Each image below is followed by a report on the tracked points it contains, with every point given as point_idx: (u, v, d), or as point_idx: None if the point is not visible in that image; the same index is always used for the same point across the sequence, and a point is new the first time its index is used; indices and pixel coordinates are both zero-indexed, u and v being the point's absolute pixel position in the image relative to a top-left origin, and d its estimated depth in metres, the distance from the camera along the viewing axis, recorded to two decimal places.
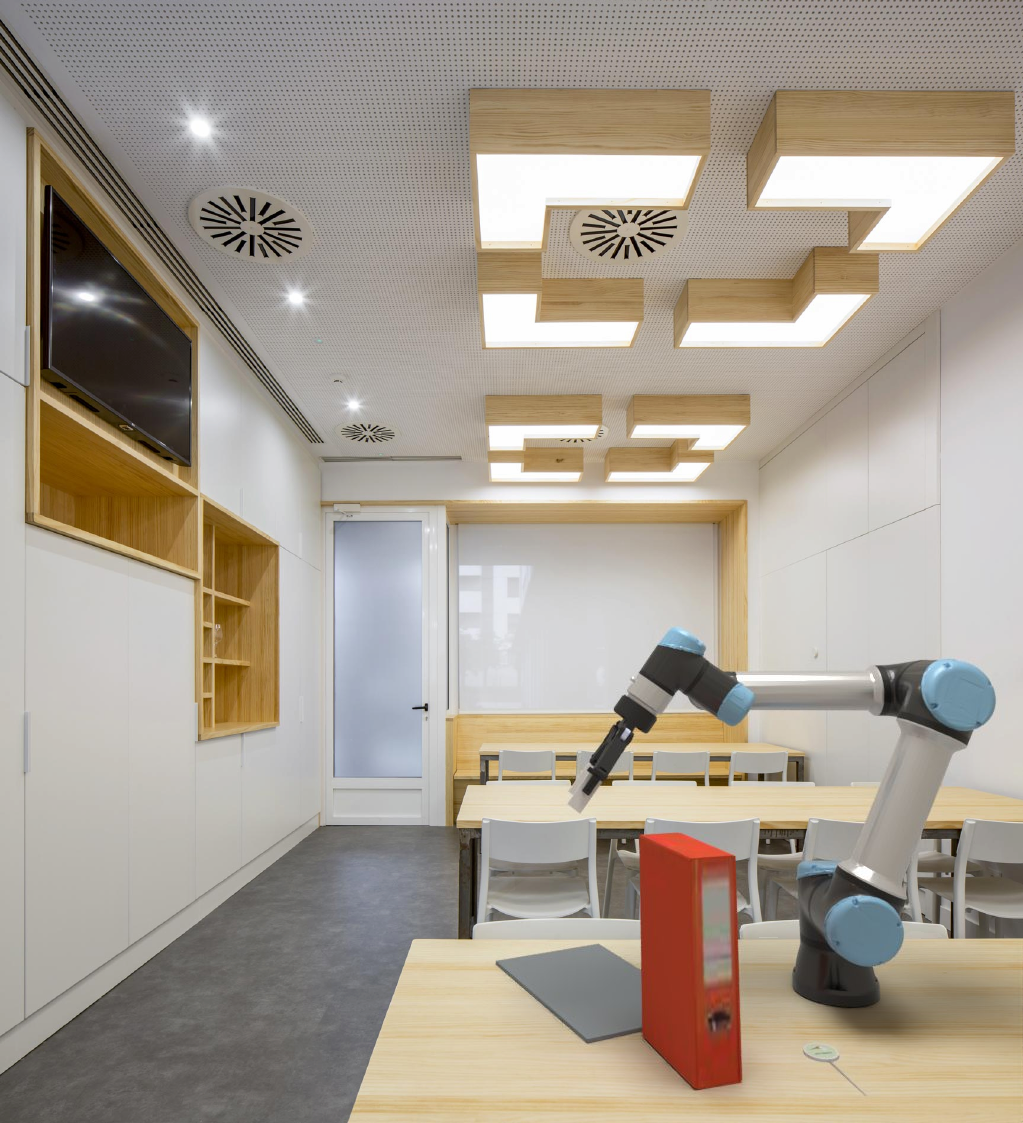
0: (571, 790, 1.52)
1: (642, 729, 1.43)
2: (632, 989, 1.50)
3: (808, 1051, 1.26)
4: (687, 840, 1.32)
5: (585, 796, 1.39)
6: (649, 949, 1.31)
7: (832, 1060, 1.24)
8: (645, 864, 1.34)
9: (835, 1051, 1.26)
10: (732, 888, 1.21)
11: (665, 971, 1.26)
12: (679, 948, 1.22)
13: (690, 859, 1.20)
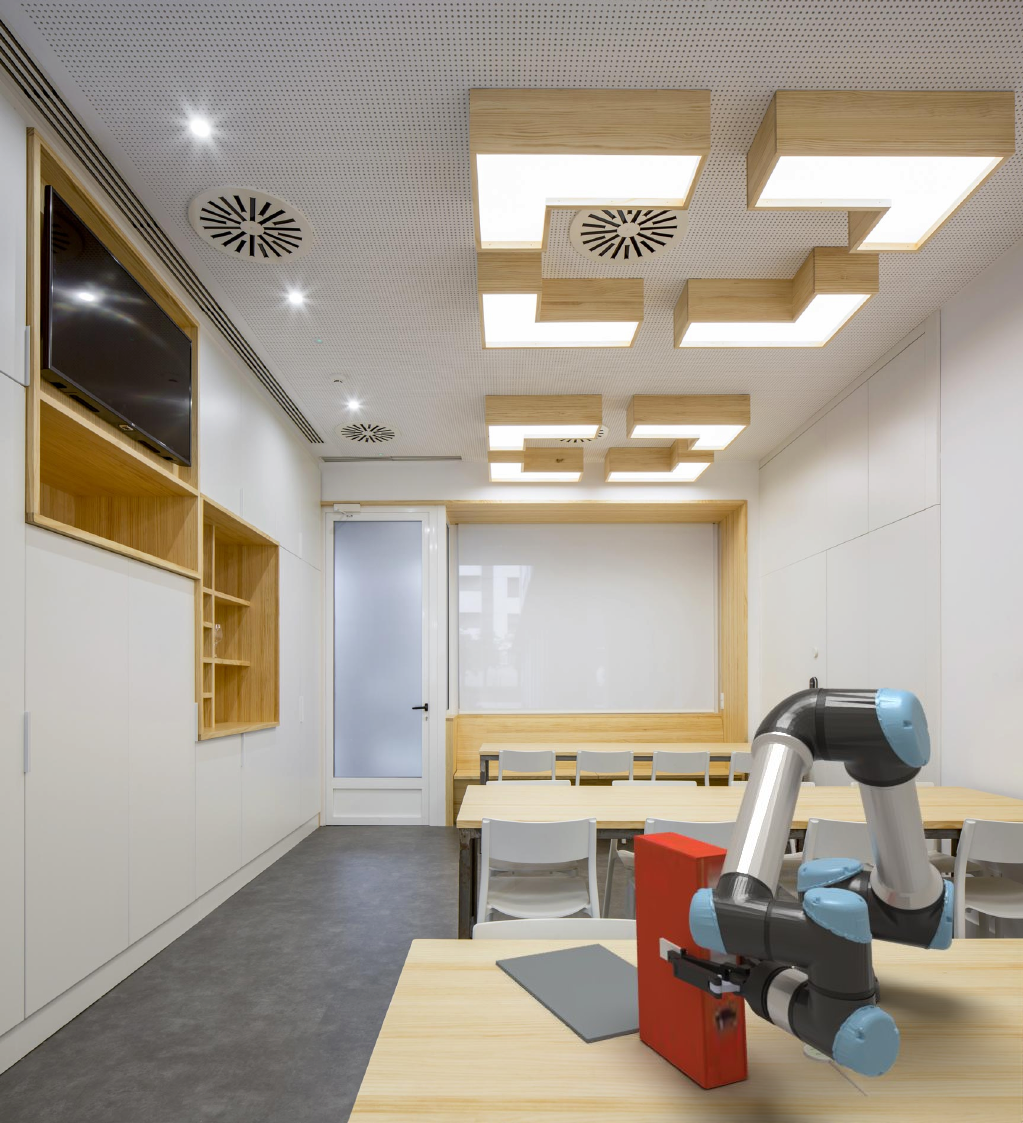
0: None
1: None
2: (632, 989, 1.50)
3: (808, 1051, 1.26)
4: (683, 839, 1.32)
5: None
6: (648, 950, 1.30)
7: (832, 1060, 1.24)
8: (641, 865, 1.33)
9: None
10: None
11: (667, 972, 1.25)
12: None
13: (696, 858, 1.20)
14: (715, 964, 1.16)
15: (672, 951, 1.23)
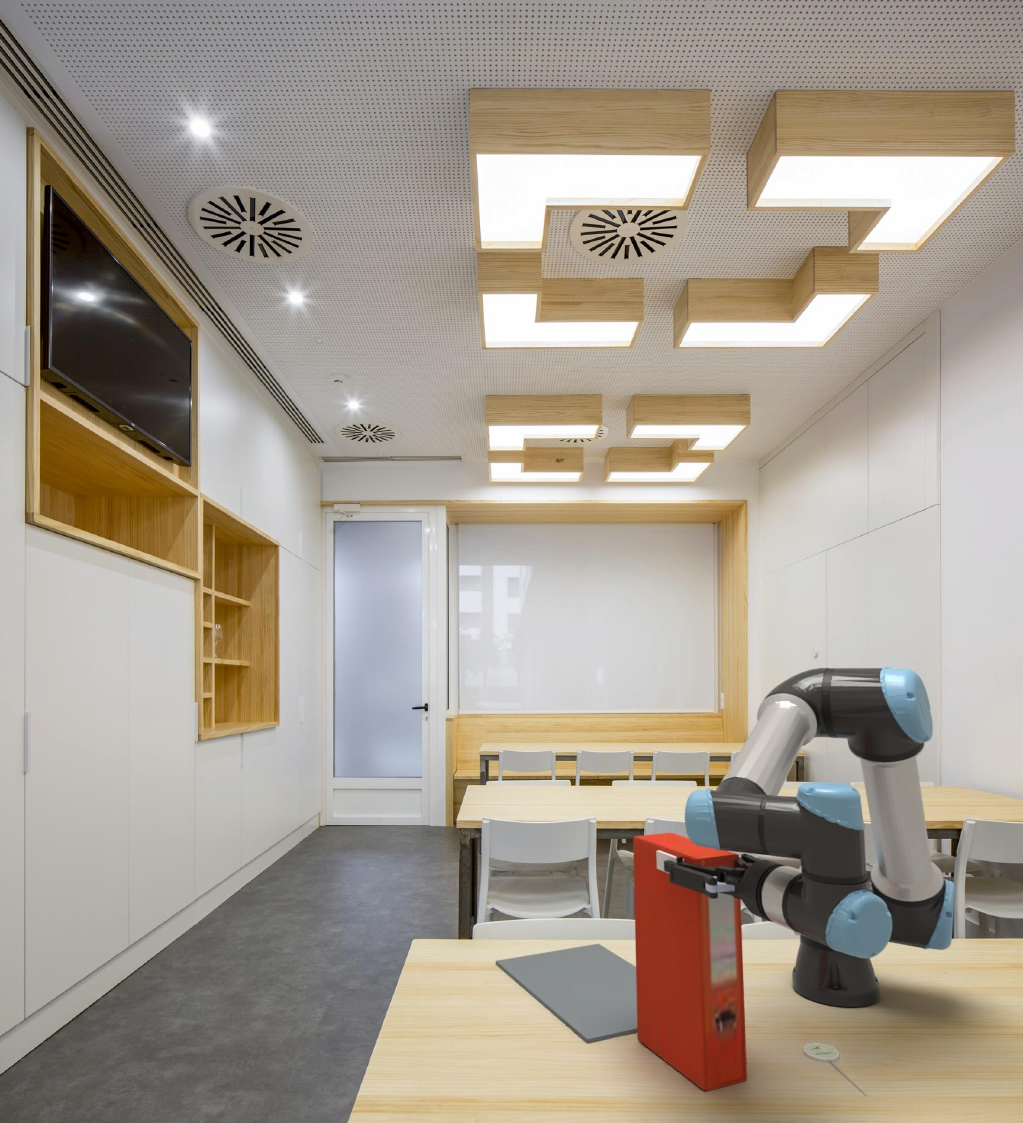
0: None
1: None
2: (632, 989, 1.50)
3: (808, 1051, 1.26)
4: (683, 840, 1.32)
5: None
6: (647, 951, 1.30)
7: (832, 1060, 1.24)
8: (641, 866, 1.33)
9: (835, 1051, 1.26)
10: None
11: (666, 973, 1.25)
12: (684, 949, 1.21)
13: (697, 860, 1.20)
14: (711, 869, 1.17)
15: (668, 861, 1.24)
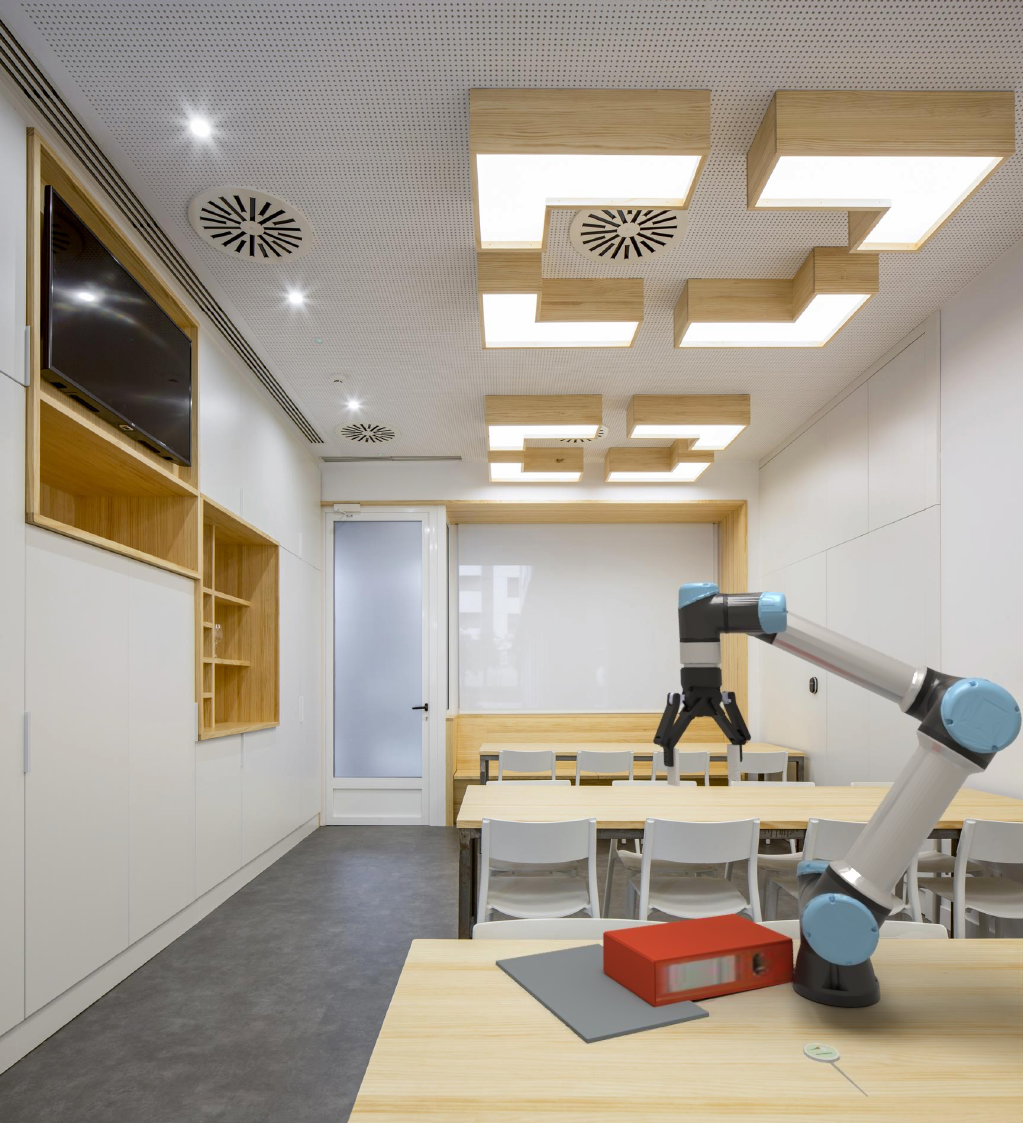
0: (729, 776, 1.52)
1: (696, 685, 1.48)
2: None
3: (809, 1051, 1.26)
4: None
5: (672, 769, 1.46)
6: None
7: (833, 1060, 1.24)
8: None
9: (836, 1051, 1.26)
10: None
11: None
12: None
13: None
14: (725, 719, 1.51)
15: None
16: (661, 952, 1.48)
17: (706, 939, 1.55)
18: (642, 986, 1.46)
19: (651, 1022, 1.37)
